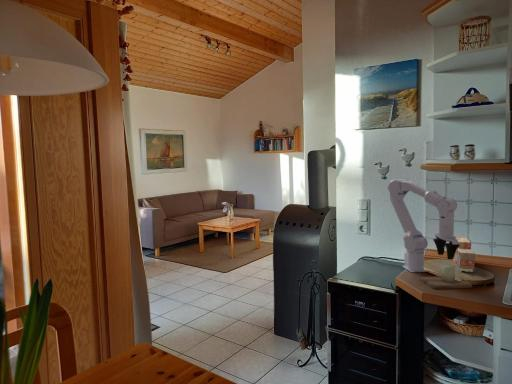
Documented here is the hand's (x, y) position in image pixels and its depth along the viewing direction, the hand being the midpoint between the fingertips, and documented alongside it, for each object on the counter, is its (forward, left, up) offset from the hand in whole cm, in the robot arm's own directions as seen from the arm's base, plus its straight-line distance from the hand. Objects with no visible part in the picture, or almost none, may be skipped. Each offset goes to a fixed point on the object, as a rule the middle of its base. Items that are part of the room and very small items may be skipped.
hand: (445, 256), depth 171 cm
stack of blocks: (-16, +18, -10) cm, 26 cm away
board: (+7, -4, -9) cm, 12 cm away
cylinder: (+7, -3, -8) cm, 11 cm away
